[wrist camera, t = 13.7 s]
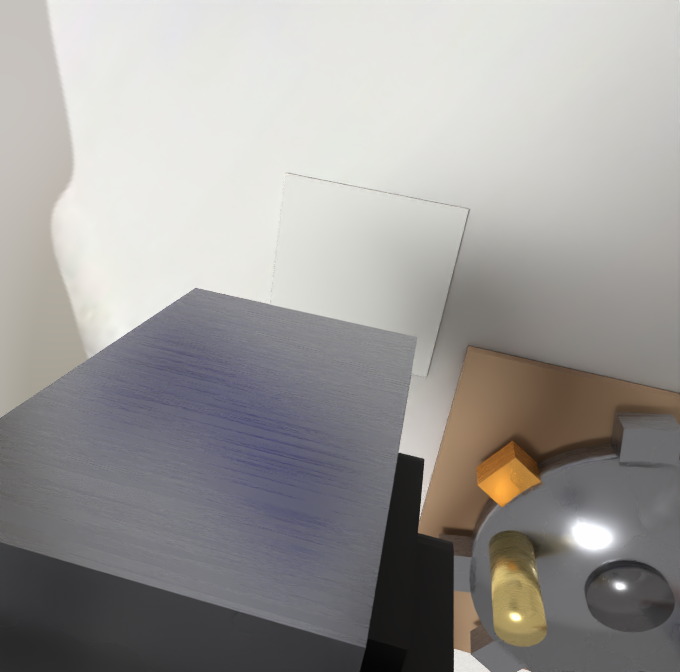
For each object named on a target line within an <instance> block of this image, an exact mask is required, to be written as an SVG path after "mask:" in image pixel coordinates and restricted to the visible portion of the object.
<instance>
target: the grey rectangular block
mask: <svg viewBox="0 0 680 672" xmlns="http://www.w3.org/2000/svg"><path fill="white" fill-rule="evenodd" d="M416 343H417V337H414V336H409V335H405V334H400V333H396V332H391V331H387V330H382V329H378V328H373V327H369V326H364V325H360V324H355V323H351V322H346V321H342V320H337V319H333V318H328V317H324V316H319V315H315V314H310V313H306V312H301V311H297V310H292V309H288V308H283V307H279V306H274V305H270V304H265V303H261V302H256V301H252V300H247V299H243V298H238V297H234V296H229V295H225V294H220V293H216V292H211V291H207V290H202V289H198V288H195V289H193V290H192V291H190V292H189V293H187V294H186V295H184V296H183V297H181V298H180V299H178V300H177V301H175V302H174V303H172V304H171V305H169V306H168V307H166V308H165V309H163V310H162V311H160V312H159V313H157V314H156V315H154V316H153V317H151V318H150V319H148V320H147V321H145V322H144V323H142V324H141V325H139V326H138V327H136V328H135V329H133V330H132V331H130V332H129V333H127V334H126V335H124V336H123V337H121V338H120V339H118V340H117V341H115V342H114V343H112V344H111V345H109V346H108V347H106V348H105V349H103V350H102V351H100V352H99V353H97V354H96V355H94V356H93V357H91V358H90V359H88V360H87V361H85V362H84V363H82V364H81V365H79V366H78V367H77V368H75V369H73V370H72V371H70V372H69V373H67V374H66V375H64V376H63V377H61V378H60V379H58V380H57V381H55V382H54V383H52V384H51V385H49V386H48V387H46V388H45V389H43V390H42V391H40V392H39V393H37V394H36V395H34V396H33V397H31V398H30V399H28V400H27V401H25V402H24V403H22V404H21V405H19V406H18V407H16V408H15V409H13V410H12V411H10V412H9V413H7V414H6V415H4V416H3V417H1V418H0V672H360V668H361V664H362V660H363V656H364V653H365V649H366V643H367V637H368V631H369V625H370V619H371V613H372V607H373V601H374V595H375V589H376V583H377V577H378V571H379V565H380V559H381V553H382V547H383V541H384V535H385V529H386V523H387V517H388V511H389V505H390V499H391V493H392V487H393V481H394V475H395V469H396V463H397V457H398V451H399V445H400V439H401V433H402V427H403V421H404V415H405V409H406V403H407V397H408V391H409V385H410V379H411V373H412V367H413V361H414V355H415V349H416Z"/></svg>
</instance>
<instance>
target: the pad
mask: <svg viewBox="0 0 680 672" xmlns="http://www.w3.org/2000/svg"><path fill="white" fill-rule="evenodd" d="M468 211H469V209H467V208H462V207H457V206H452V205H447V204H442V203H436V202H431V201H426V200H421V199H416V198H411V197H406V196H401V195H396V194H391V193H386V192H381V191H376V190H371V189H365V188H360V187H355V186H350V185H345V184H340V183H335V182H330V181H325V180H320V179H315V178H310V177H305V176H300V175H294V174H289V173H285V179H284V187H283V196H282V204H281V213H280V221H279V230H278V238H277V247H276V255H275V264H274V272H273V281H272V289H271V297H270V305H274V306H279V307H283V308H288V309H292V310H297V311H301V312H306V313H310V314H315V315H319V316H324V317H328V318H333V319H337V320H342V321H346V322H351V323H355V324H360V325H364V326H369V327H373V328H378V329H382V330H387V331H391V332H396V333H400V334H405V335H409V336H414V337H417V343H416V349H415V355H414V361H413V367H412V373H411V374H413V375H417V376H421V377H425V378H426V377H427V373H428V369H429V365H430V361H431V357H432V353H433V349H434V345H435V341H436V337H437V333H438V330H439V326H440V322H441V318H442V314H443V310H444V306H445V302H446V298H447V294H448V290H449V286H450V282H451V278H452V274H453V270H454V266H455V262H456V258H457V255H458V251H459V247H460V243H461V239H462V235H463V231H464V227H465V223H466V219H467V215H468Z"/></svg>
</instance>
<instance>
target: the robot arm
mask: <svg viewBox="0 0 680 672" xmlns="http://www.w3.org/2000/svg"><path fill="white" fill-rule="evenodd" d="M423 470H424V459H422V458H418V457H414V456H410V455H406V454H402V453H398V457H397V463H396V469H395V475H394V481H393V487H392V493H391V499H390V505H389V511H388V517H387V523H386V529H385V535H384V541H383V547H382V553H381V559H380V565H379V571H378V577H377V583H376V589H375V595H374V601H373V607H372V613H371V619H370V625H369V631H368V637H367V643H366V649H365V653H364V656H363V660H362V664H361V668H360V672H454V547H453V543H452V542H451V541H447V540H443V539H439V538H436V537H432V536H428V535H424V534H420V533H418V526H419V515H420V504H421V492H422V481H423Z"/></svg>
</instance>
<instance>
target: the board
mask: <svg viewBox="0 0 680 672" xmlns="http://www.w3.org/2000/svg"><path fill="white" fill-rule="evenodd" d="M615 412H635V413H657V414H672V415H673V416H674V418H675V419H676V421H677V422H678V423H679V425H680V394H679V393H674V392H670V391H666V390H661V389H657V388H652V387H648V386H644V385H639V384H635V383H630V382H626V381H622V380H617V379H613V378H608V377H604V376H600V375H595V374H591V373H586V372H582V371H578V370H573V369H569V368H564V367H560V366H556V365H551V364H547V363H542V362H538V361H534V360H529V359H525V358H520V357H516V356H512V355H507V354H503V353H498V352H494V351H490V350H485V349H481V348H476V347H472V346H468V349H467V353H466V356H465V360H464V363H463V367H462V370H461V374H460V378H459V381H458V385H457V388H456V392H455V395H454V399H453V403H452V406H451V410H450V413H449V417H448V420H447V424H446V427H445V431H444V435H443V438H442V442H441V445H440V449H439V452H438V456H437V460H436V463H435V467H434V470H433V474H432V477H431V481H430V484H429V488H428V492H427V495H426V499H425V502H424V506H423V509H422V513H421V517H420V520H419V526H418V533H420V534H424V535H428V536H432V537H436V538H439V534H445V535H456V536H467V537H472V533H473V529H474V527H475V525H476V522H477V520H478V518H479V516H480V514H481V512H482V511H483V509H484V508H485V506H486V505H487V503H488V502H489V501H490V499H491V497H490V496H489V495H488V494H487V493H486V492H484V491H483V490H482V489H481V488H480V487H479V486H478V485H477V466H478V465H480V464H481V463H483V462H484V461H485V460H487V459H488V458H489V457H491V456H492V455H493V454H495V453H496V452H498V451H499V450H500V449H502V448H503V447H504V446H506V445H507V444H508V443H510V442H511V441H514V442H515V443H516V444H517V445H518V446H519V447H520V448H521V449H522V450H524V451H525V452H526V453H527V454H528V455H529V456H530V457H531V458H532V459H533V460H534V461H535V462H536V463H538V462H540V461H542V460H544V459H547V458H550V457H552V456H555V455H558V454H560V453H563V452H566V451H571V450H575V449H579V448H583V447H587V446H595V445H602V444H611V440H612V433H613V425H614V418H615ZM480 625H482V623H481V621H480V619H479V617H478V615H477V612H476V610H475V608H474V604H473V601H472V597H471V593H469V592H460V591H454V649H458V650H461V651H465V652H468V653H471V645H470V631H471V630H473V629H475V628H477V627H478V626H480ZM523 669H526V668H523ZM526 670H528V669H526Z"/></svg>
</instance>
